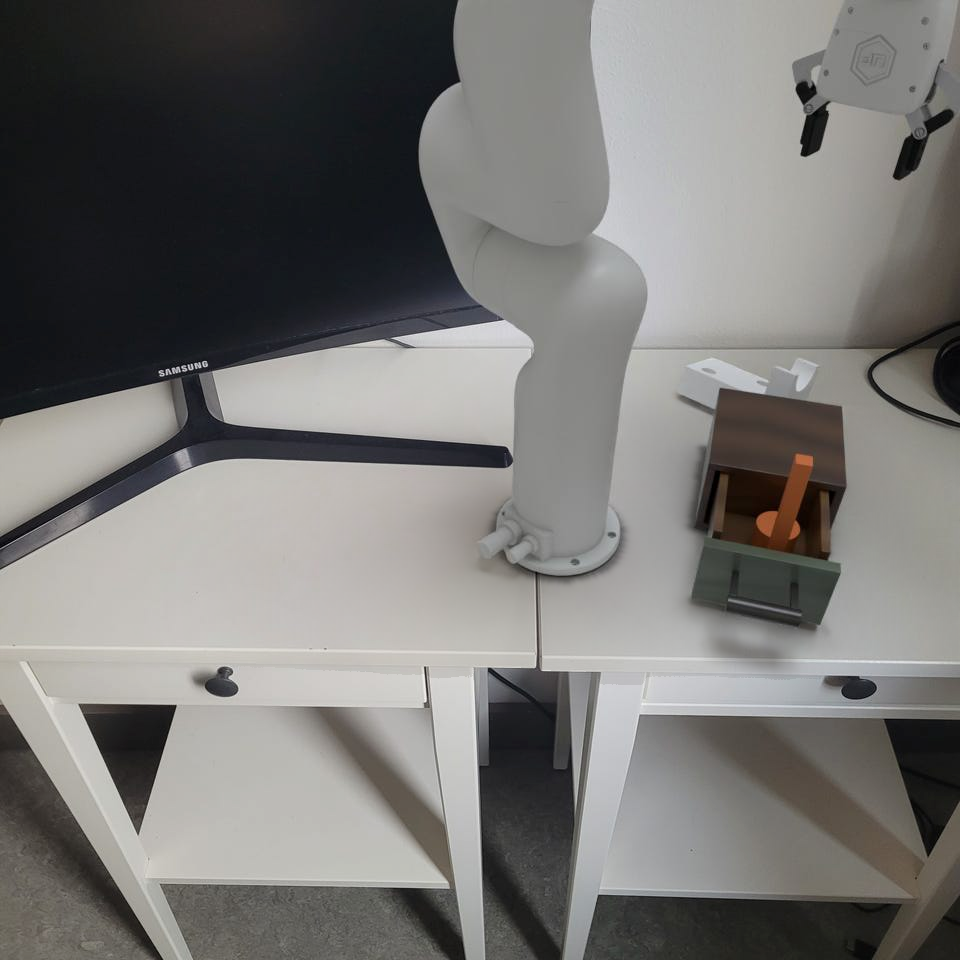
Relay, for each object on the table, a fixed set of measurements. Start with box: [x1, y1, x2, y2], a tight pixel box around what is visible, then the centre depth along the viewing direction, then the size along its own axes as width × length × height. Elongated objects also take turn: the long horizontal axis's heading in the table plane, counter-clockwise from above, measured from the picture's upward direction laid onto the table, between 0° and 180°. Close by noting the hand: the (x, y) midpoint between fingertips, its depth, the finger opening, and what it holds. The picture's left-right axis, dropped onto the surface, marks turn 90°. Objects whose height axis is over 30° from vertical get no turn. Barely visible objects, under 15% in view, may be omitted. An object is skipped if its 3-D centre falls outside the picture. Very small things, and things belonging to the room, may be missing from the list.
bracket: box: [676, 357, 821, 411], centre depth 98 cm, size 13×7×8 cm, turn 46°
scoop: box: [750, 454, 813, 554], centre depth 74 cm, size 5×4×13 cm
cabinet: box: [694, 388, 848, 532], centre depth 85 cm, size 14×13×9 cm
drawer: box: [690, 471, 842, 629], centre depth 75 cm, size 17×11×7 cm, turn 163°
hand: (854, 164), depth 83 cm, fingers open, 9 cm apart
